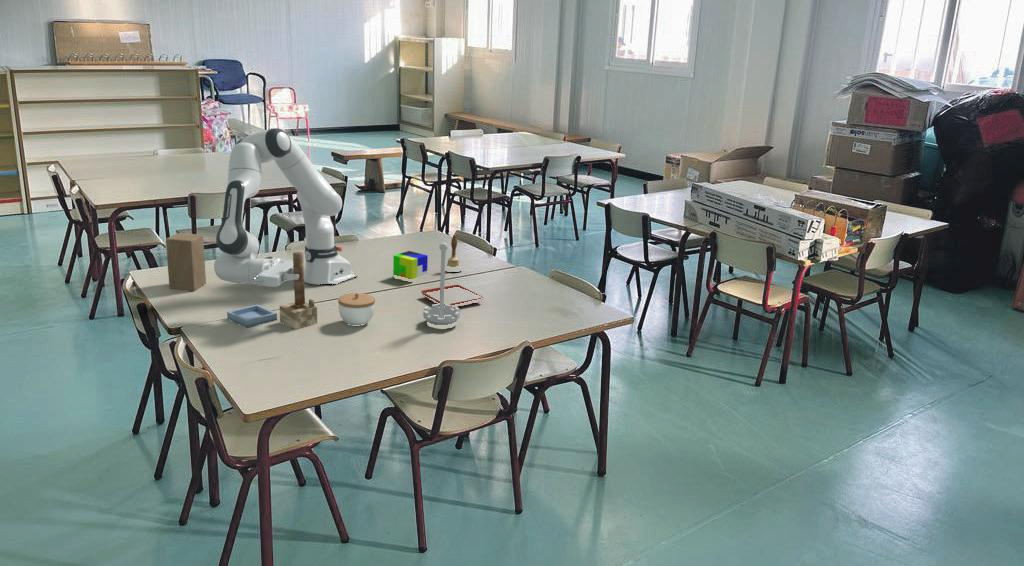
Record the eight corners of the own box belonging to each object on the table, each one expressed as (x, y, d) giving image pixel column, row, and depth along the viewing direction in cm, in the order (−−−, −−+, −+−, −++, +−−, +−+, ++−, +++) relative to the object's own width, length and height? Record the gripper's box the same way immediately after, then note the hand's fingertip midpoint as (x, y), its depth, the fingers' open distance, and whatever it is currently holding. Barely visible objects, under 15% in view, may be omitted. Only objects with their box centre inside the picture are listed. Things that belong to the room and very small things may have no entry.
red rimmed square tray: (484, 304, 306) (484, 296, 305) (445, 312, 295) (445, 304, 294) (457, 291, 319) (457, 284, 318) (419, 298, 308) (419, 290, 307)
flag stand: (459, 331, 277) (463, 248, 268) (422, 330, 275) (424, 247, 266) (459, 318, 289) (462, 238, 280) (423, 317, 288) (425, 237, 279)
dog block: (301, 316, 281) (301, 293, 278) (317, 323, 276) (316, 300, 273) (280, 322, 274) (279, 299, 272) (295, 329, 269) (294, 305, 266)
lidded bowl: (337, 329, 271) (337, 299, 268) (339, 316, 283) (339, 287, 280) (374, 329, 273) (374, 299, 270) (375, 316, 285) (375, 287, 282)
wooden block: (206, 284, 308) (203, 234, 302) (194, 291, 299) (190, 240, 293) (182, 281, 309) (178, 232, 303) (168, 289, 300) (165, 238, 294)
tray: (257, 311, 284) (257, 304, 283) (277, 319, 276) (276, 313, 276) (227, 318, 275) (227, 311, 274) (246, 327, 267) (246, 321, 267)
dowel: (301, 300, 275) (299, 251, 270) (307, 303, 273) (305, 253, 268) (292, 303, 273) (290, 253, 267) (298, 305, 271) (296, 255, 265)
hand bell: (445, 267, 350) (446, 232, 345) (464, 268, 349) (465, 233, 344) (441, 272, 342) (442, 236, 337) (460, 274, 341) (461, 238, 336)
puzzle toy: (427, 278, 333) (427, 255, 330) (411, 283, 325) (412, 260, 322) (408, 273, 338) (409, 250, 335) (393, 278, 330) (393, 255, 327)
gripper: (249, 271, 260) (290, 274, 259) (272, 254, 279) (310, 257, 278) (250, 289, 262) (290, 293, 261) (273, 271, 281) (311, 274, 280)
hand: (301, 274), depth 270 cm, fingers closed on dowel, 3 cm apart
